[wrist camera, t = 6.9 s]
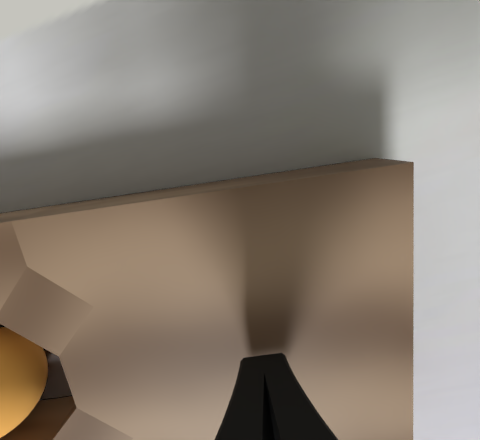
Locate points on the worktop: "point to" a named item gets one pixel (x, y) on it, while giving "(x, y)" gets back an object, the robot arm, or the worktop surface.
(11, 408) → the ball
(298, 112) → the worktop surface
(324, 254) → the hole board
